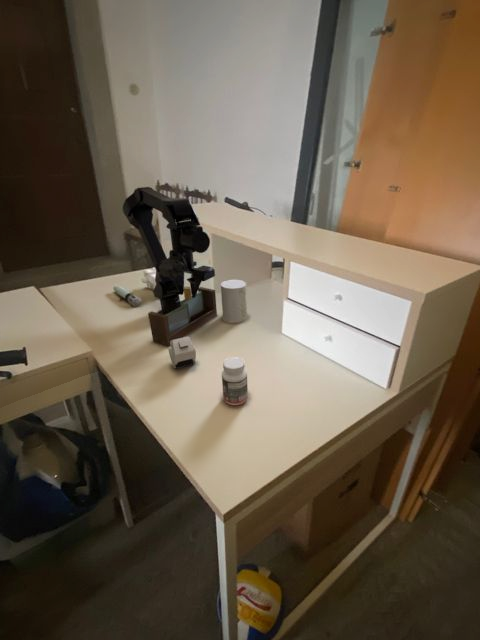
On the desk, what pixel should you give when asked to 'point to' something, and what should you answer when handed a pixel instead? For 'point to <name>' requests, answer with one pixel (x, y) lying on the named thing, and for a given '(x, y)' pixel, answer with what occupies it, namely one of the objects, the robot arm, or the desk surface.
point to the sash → (192, 301)
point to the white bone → (149, 278)
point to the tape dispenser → (182, 352)
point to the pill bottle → (234, 381)
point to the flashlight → (127, 296)
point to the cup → (234, 301)
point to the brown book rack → (182, 319)
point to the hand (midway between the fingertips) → (187, 296)
